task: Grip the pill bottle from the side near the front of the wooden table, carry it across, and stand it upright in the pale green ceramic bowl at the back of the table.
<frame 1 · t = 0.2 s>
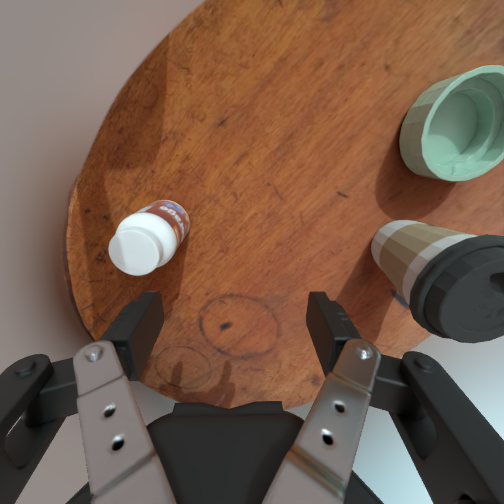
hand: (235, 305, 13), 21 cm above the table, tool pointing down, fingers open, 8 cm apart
pill bottle: (168, 221, 33), on the table
bowl: (441, 131, 29), on the table
coffee cup: (393, 242, 35), on the table
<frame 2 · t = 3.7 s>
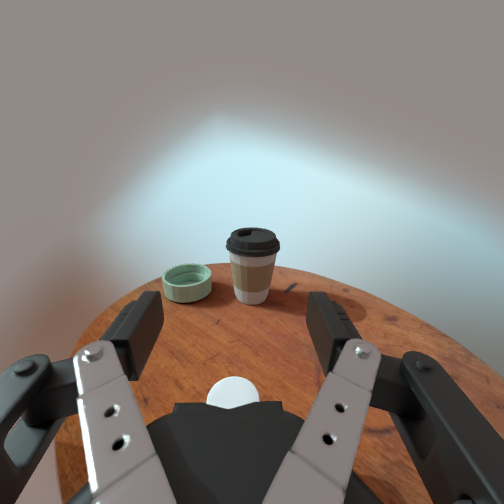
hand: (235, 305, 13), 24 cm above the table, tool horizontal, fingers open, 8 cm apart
pill bottle: (233, 469, 26), on the table
bowl: (188, 290, 57), on the table
coffee cup: (251, 296, 55), on the table
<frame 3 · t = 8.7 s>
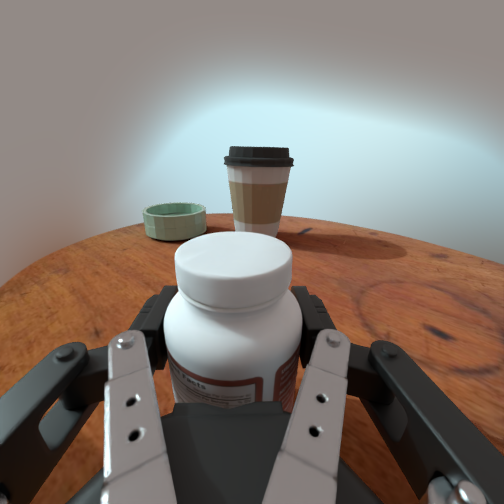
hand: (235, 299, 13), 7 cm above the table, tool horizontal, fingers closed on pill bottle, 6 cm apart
pill bottle: (235, 425, 14), on the table, touching gripper
bowl: (177, 232, 45), on the table
coffee cup: (256, 237, 44), on the table
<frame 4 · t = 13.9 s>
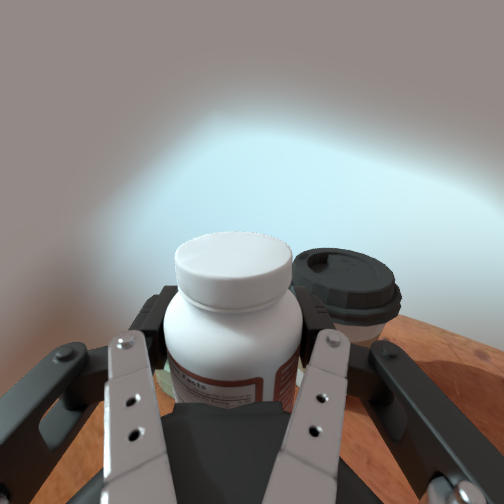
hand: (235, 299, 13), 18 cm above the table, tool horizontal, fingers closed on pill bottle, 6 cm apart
pill bottle: (235, 426, 14), point 10 cm above the table, touching gripper
bowl: (201, 363, 31), on the table
coffee cup: (320, 375, 30), on the table
when the fingers open (7 cm above the table, at t = 19.1 s): pill bottle stays where it is, resting on bowl.
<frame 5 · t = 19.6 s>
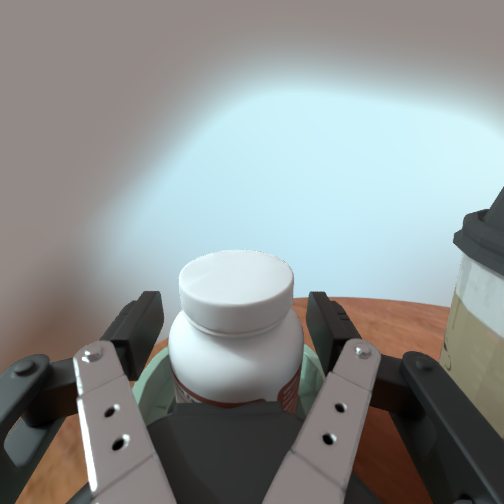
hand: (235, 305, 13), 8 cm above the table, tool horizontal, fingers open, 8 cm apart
pill bottle: (238, 438, 14), resting on bowl
bowl: (236, 439, 15), on the table
coffee cup: (500, 474, 13), on the table
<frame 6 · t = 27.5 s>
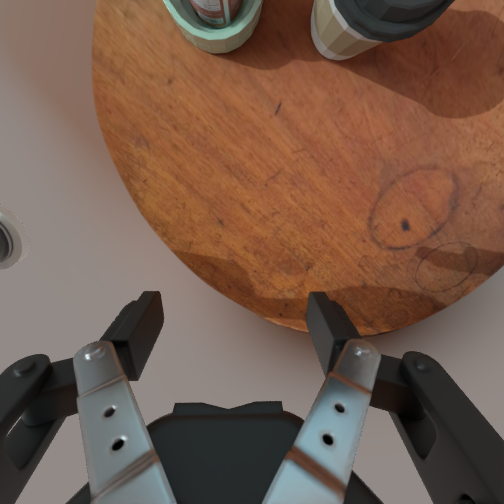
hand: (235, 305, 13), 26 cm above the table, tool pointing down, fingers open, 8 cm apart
coffee cup: (339, 25, 29), on the table
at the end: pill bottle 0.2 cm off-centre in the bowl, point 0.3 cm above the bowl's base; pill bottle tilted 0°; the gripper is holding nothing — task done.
